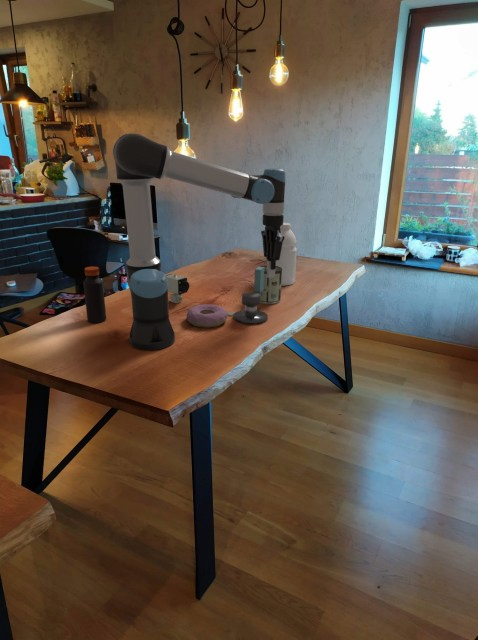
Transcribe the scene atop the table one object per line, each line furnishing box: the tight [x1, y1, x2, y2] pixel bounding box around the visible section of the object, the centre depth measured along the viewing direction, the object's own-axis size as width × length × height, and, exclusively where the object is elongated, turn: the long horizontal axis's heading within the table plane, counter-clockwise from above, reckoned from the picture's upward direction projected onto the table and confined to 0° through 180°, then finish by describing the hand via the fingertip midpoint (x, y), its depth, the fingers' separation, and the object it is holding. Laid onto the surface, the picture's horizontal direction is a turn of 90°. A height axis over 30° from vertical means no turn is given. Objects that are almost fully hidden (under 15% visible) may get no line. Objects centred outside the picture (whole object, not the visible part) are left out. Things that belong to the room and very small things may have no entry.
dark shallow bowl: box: [227, 305, 269, 326], centre depth 174 cm, size 13×16×6 cm
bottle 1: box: [82, 266, 107, 324], centre depth 166 cm, size 7×7×20 cm
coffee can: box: [259, 264, 282, 305], centre depth 192 cm, size 10×10×14 cm
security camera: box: [165, 273, 190, 304], centre depth 188 cm, size 6×12×12 cm, turn 53°
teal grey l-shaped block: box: [241, 266, 264, 306], centre depth 172 cm, size 14×7×12 cm, turn 157°
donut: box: [186, 304, 229, 329], centre depth 170 cm, size 16×15×5 cm
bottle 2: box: [276, 222, 298, 287], centre depth 214 cm, size 14×14×28 cm
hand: (270, 277), depth 172 cm, fingers closed
